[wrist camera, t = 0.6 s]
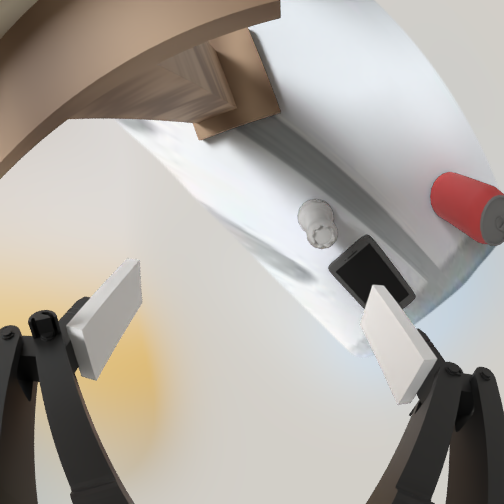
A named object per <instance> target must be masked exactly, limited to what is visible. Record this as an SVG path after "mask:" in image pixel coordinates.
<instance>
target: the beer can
mask: <svg viewBox="0 0 504 504" xmlns="http://www.w3.org/2000/svg"><path fill="white" fill-rule="evenodd" d="M430 198H431V205H432V207H433V210H434V211H435V213H436V214H437V215H438V216H439V217H441V218H442V219H444V220H446V221H447V222H449V223H450V224H452V225H453V226H455V227H456V228H458V229H459V230H461V231H462V232H464V233H465V234H467V235H468V236H469V237H471V238H472V239H474V240H475V241H477V242H479V243H482V244H489V245H490V246H497V245H500V244H501V243H502V242H504V194H503V193H502V192H501V191H499V190H498V189H497V188H496V187H494V186H491V185H488V184H486V183H483V182H480V181H477V180H475V179H472V178H469V177H466V176H463V175H460V174H457V173H452V172H447V173H444V174H442V175H441V176H439V177H438V178H437V179H436V181H435V182H434V184H433V186H432V189H431V195H430Z"/></svg>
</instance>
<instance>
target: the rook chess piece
mask: <svg viewBox="0 0 504 504" xmlns="http://www.w3.org/2000/svg"><path fill="white" fill-rule="evenodd" d="M333 220H334V217H333V212H332V209H331V208H330V206H329V204H327V203H326V202H325V201H323V200H319V199H313V200H309V201H307V202H305V203H303V205H302V206H301V207H300V209H299V212H298V222H299V224H300V226H301V228H302V229H303V230H304V231H305V232H306V233H307V239H308V241H309V243H310V244H311V245H312V246H314V247H315V248H319V249H324V248H329V247H331V246H332V245H333V244H334V242H335V241H336V239H337V236H338V231H337V228H336V226H335V224H334V223H333Z"/></svg>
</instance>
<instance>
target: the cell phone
mask: <svg viewBox="0 0 504 504" xmlns="http://www.w3.org/2000/svg"><path fill="white" fill-rule="evenodd" d="M328 269H329V271H330V272H331V274H332V275H333V276H334V277H335V278H336V279H337V280H338V281H339V282H340V283H341V284H342V286H343V287H344V288H345V289H346V290H347V291H348V292H349V293H350V294H351V295H352V296H353V297H354V298H355V299H356V300H357V302H358V303H359V304H360V305H361V306H362V307H363V308H364V309H365V307H366V304H367V301H368V298H369V294H370V291H371V288H372V285H382V286H384V287H385V288H386V289H387V290H388V292H389V293H390V294H391V296H392V297H393V298H394V299H395V301H396V302H397V303H398V305H399V306H400V307H401V309H403V308H404V307H406V306H407V305H408V304H409V303H411V302H412V301H413V300H414V299H415V294H414V293H413V291H412V290H411V288H410V287H409V285H408V284H407V283H406V281H405V280H404V279H403V277H402V276H401V275H400V273H399V272H398V271H397V269H396V268H395V267H394V265H393V264H392V263H391V261H390V260H389V259H388V257H387V256H386V255H385V254H384V252H383V251H382V250H381V249H380V247H379V246H378V245H377V244H376V242H375V241H374V240H373V239H372V238H371V237H370V236H369V235H364V236H363V237H361V238H360V239H359V240H358V241H357V242H355V243H354V244H353V245H352V246H351V247H350V248H348V249H347V250H346V251H345V252H344V253H343V254H341V255H340V256H339V257H338V258H337V259H336V260H334V261H333V262H332V263H331V264H330V265H329V268H328Z"/></svg>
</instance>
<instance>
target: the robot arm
mask: <svg viewBox="0 0 504 504" xmlns="http://www.w3.org/2000/svg"><path fill="white" fill-rule="evenodd" d="M141 304H142V293H141V276H140V260H137V259H129V258H128V259H126V260H125V261H124V262H123V263H122V264H121V265H120V267H118V269H117V270H116V271H115V272H114V273H113V274H112V275H111V276H110V277H109V278H108V279H107V280H106V281H105V283H103V285H102V286H101V287H100V288H99V289H98V290H97V291H96V292H95V293H94V294H93V296H92V297H91V298H90V297H83V298H82V299H80V300H78V301H77V302H76V303H75V304H74V305H73V306H72V308H70V309H69V310H68V311H67V313H66V314H65V315H64V316H63V317H62V318H61V319H60V320H59V321H58V319H57V315H56V314H55V313H54V312H53V311H49V310H42V311H38V312H36V313H34V314H33V315H31V317H30V318H29V320H28V324H29V327H30V329H31V332H32V336H22V335H21V332H20V330H19V328H18V327H16V326H12V325H9V326H5V327H3V328H1V329H0V504H38V502H37V492H36V481H35V464H34V424H35V406H36V393H37V384H38V382H40V386H41V391H42V396H43V401H44V405H45V410H46V414H47V418H48V422H49V425H50V429H51V432H52V436H53V439H54V443H55V446H56V449H57V452H58V455H59V458H60V461H61V464H62V467H63V469H64V472H65V474H66V477H67V480H68V482H69V485H70V487H71V491H72V492H71V494H70V496H71V500H72V502H73V504H134V502H133V501H132V499H131V497H130V496H129V494H128V492H127V491H126V489H125V487H124V485H123V484H122V482H121V480H120V479H119V477H118V475H117V473H116V471H115V469H114V467H113V466H112V463H111V461H110V459H109V457H108V455H107V453H106V451H105V449H104V447H103V445H102V443H101V440H100V438H99V436H98V434H97V432H96V430H95V427H94V424H93V422H92V420H91V417H90V415H89V412H88V410H87V407H86V404H85V402H84V399H83V396H82V393H81V391H80V387H79V385H78V382H77V379H76V376H75V371H76V370H77V368H78V367H79V370H80V373H81V376H82V377H86V378H89V379H93V380H97V379H98V377H99V375H100V373H101V371H102V370H103V368H104V366H105V364H106V363H107V361H108V359H109V357H110V356H111V354H112V352H113V350H114V348H115V347H116V345H117V344H118V342H119V340H120V338H121V336H122V335H123V333H124V332H125V330H126V328H127V327H128V325H129V323H130V322H131V320H132V318H133V317H134V315H135V313H136V312H137V310H138V309H139V307H140V305H141ZM360 326H361V328H362V330H363V332H364V334H365V336H366V338H367V340H368V342H369V344H370V346H371V348H372V351H373V353H374V355H375V357H376V359H377V361H378V363H379V365H380V367H381V369H382V372H383V374H384V375H385V378H386V380H387V383H388V385H389V387H390V389H391V391H392V394H393V396H394V398H395V400H396V402H397V405H399V404H407V403H411V402H412V400H413V399H414V397H415V396H416V394H417V396H418V398H419V401H418V403H417V404H416V406H415V407H414V409H413V410H412V411H411V413H410V414H409V415H410V416H411V415H412V416H411V419H410V421H409V423H408V425H407V428H406V430H405V432H404V434H403V437H402V439H401V441H400V443H399V445H398V447H397V449H396V451H395V454H394V455H393V457H392V459H391V461H390V463H389V465H388V467H387V469H386V471H385V472H384V474H383V476H382V478H381V480H380V481H379V483H378V485H377V487H376V488H375V490H374V492H373V493H372V495H371V496H370V498H369V500H368V501H367V503H366V504H435V503H433V502H431V498H432V495H433V493H434V490H435V487H436V485H437V482H438V479H439V476H440V473H441V470H442V468H443V464H444V461H445V458H446V455H447V451H448V448H449V444H450V455H449V475H448V487H447V497H446V504H504V411H503V407H502V402H501V398H500V394H499V390H498V386H497V382H496V379H495V376H494V374H493V373H492V372H491V371H490V370H489V369H487V368H484V367H478V368H477V369H476V370H475V371H474V373H473V375H470V374H464V373H463V372H462V370H461V368H460V367H459V366H458V365H456V364H454V363H451V362H445V360H444V359H443V358H442V356H441V355H440V353H439V352H438V350H437V349H436V348H435V347H434V345H433V343H432V342H430V339H429V338H428V336H427V335H426V334H425V333H424V332H422V331H421V330H420V329H416V328H415V326H414V325H413V324H412V322H411V321H410V319H409V318H408V317H407V315H406V314H405V313H404V311H403V310H402V309H401V307H400V306H399V305H398V303H397V302H396V301H395V299H394V298H393V297H392V296H391V294H390V293H389V292H388V290H387V289H386V288H385V287H384V286H382V285H372V288H371V291H370V294H369V298H368V301H367V304H366V307H365V310H364V313H363V316H362V319H361V321H360Z"/></svg>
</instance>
